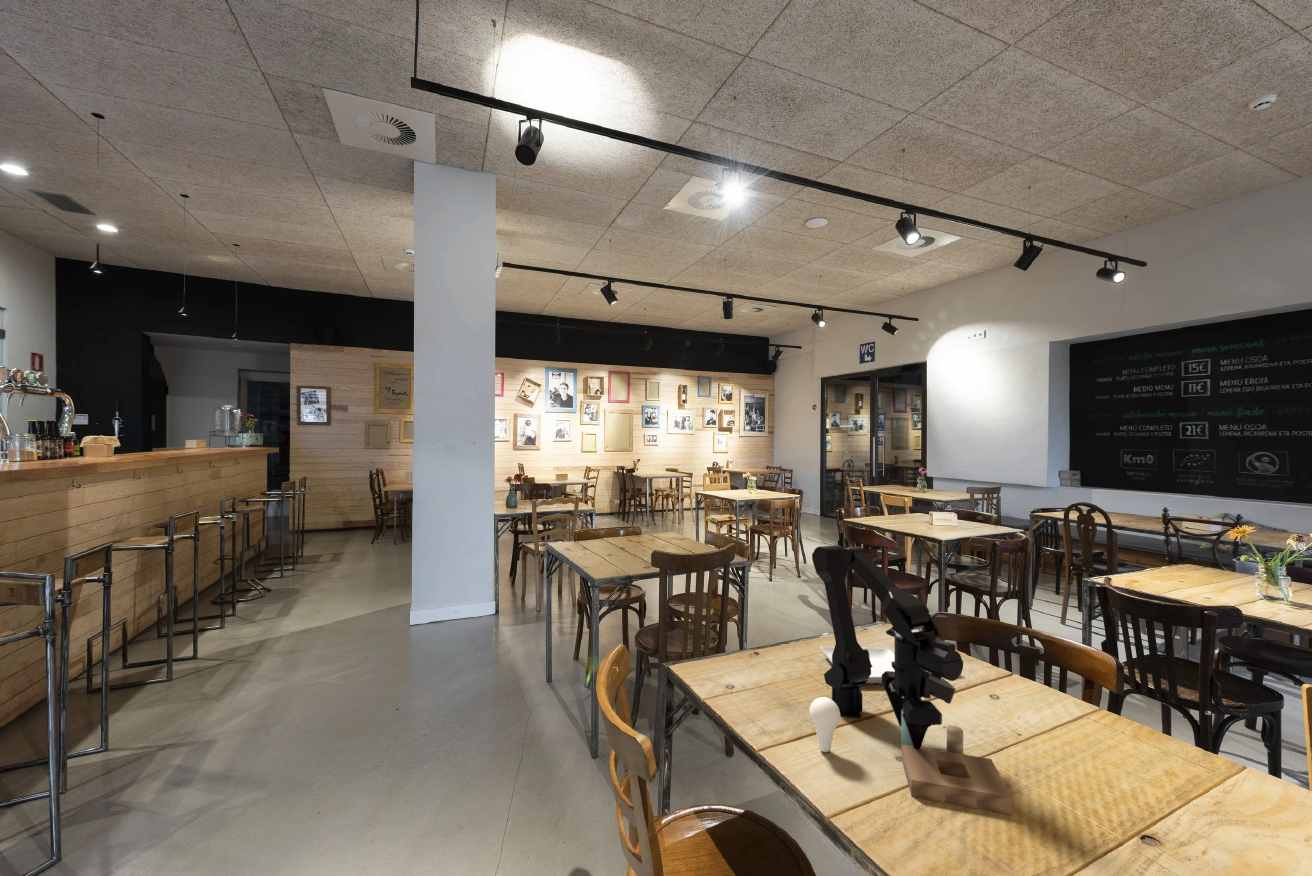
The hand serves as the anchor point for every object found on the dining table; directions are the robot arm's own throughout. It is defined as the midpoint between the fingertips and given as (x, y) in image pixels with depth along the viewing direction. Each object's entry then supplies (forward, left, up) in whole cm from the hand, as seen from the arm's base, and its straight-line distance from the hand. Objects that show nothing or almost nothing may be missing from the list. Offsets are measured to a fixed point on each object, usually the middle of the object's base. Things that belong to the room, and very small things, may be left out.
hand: (909, 737), depth 111 cm
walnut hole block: (+6, -10, -3) cm, 12 cm away
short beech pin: (+9, +2, -3) cm, 10 cm away
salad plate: (-5, +40, -4) cm, 41 cm away
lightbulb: (-17, -6, -3) cm, 18 cm away
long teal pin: (0, 0, -3) cm, 3 cm away
